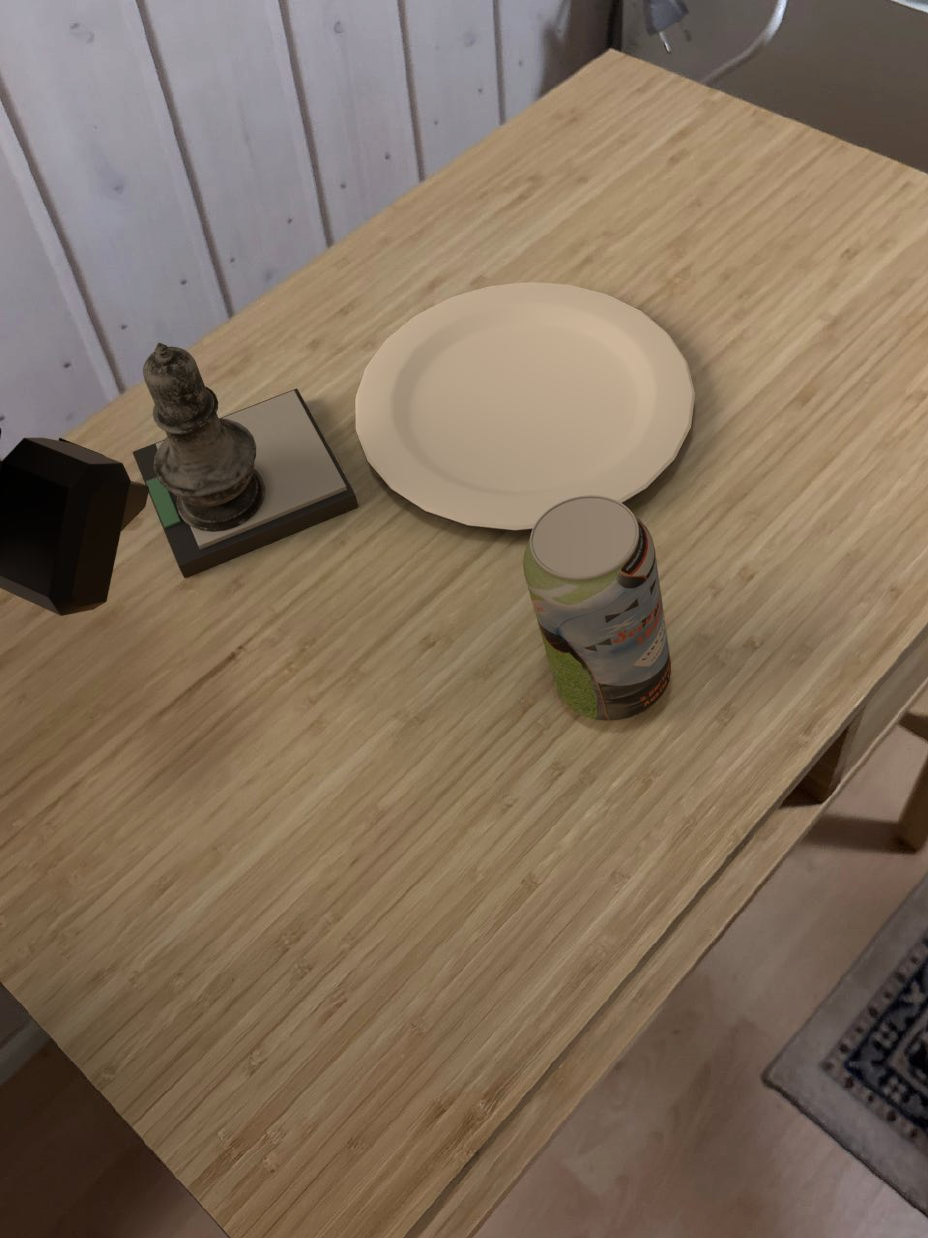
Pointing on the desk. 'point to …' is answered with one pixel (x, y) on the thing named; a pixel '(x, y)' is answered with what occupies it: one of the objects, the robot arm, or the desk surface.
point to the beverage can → (599, 607)
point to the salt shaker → (200, 446)
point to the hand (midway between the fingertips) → (69, 465)
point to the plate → (523, 404)
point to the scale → (294, 486)
